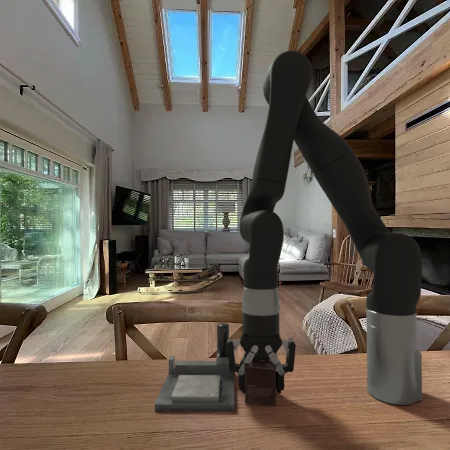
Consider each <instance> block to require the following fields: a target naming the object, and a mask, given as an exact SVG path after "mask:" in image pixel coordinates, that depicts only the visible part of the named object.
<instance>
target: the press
mask: <svg viewBox="0 0 450 450" xmlns="http://www.w3.org/2000/svg"><path fill="white" fill-rule="evenodd" d="M235 380H236V372H231V371H230V370H229V365H216V360H177V361H176V356H175V355H170V356H169V358H168V374H167V376H166V378H165V380H164V382H163V385H162V387H161V390H160V392H159V394H158V397H157V398H156V400H155V402H154V412H227V413H228V412H233V413H234V412H235Z"/></svg>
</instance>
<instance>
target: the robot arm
mask: <svg viewBox="0 0 450 450" xmlns="http://www.w3.org/2000/svg"><path fill="white" fill-rule="evenodd" d="M313 72H314V71H313V67H312V64H311V61H310V60H309V58H308V57H307V56H306V55H305V54H304V53H302V52H300V51H297V50H287V51H283V52H281V53H280V54H278V55H277V56H276V57H275V58H274V60H272V62H271V64H270V66H269V67H268V70H267V72H266V75H265V79H264V81H263V86H262V92H263V97H264V99H265V101H266V103H267V104H268V105H267V106H268V110H267V117H266V122H265V125H264V129H263V131H262V132H263V133H262V136H261V140H260V143H259V147H258V149H257V150H258V151H257V154H256V156H255V157H256V158H255V163H254V166H253V172H252V178H251V185H250V189H249V193H248V194H247V198H246V199H245V203H244V206H243V209H242V212H241V214H240V218H239V225H238V226H239V227H238V228H239V233H240V237H241V238H242V239H243V241H245V242H246V243H247V244H250V245H249V253H248V254H249V255H248V258H247V259H246V260H245V261H244V262H243V268H242V269H243V274H242V275H243V276H242V279H243V283H242V284H243V287H242V288H243V289H242V296H241V298H242V299H241V300H242V301H241V310H242V311H241V315H242V316H241V317H242V318H241V327H242V328H241V331H242V332H241V335H240V336H241V337H239V338H235V339H233V338H232V337H229V339H228V340H227V349H228V360H229V370H230V371H231V372H235V373H237V374H238V376H237V377H238V389H239V391H241V394H245V365H250V363H251V361H252V360H253V361H259V360H264V361H269V360H270V359H271V361H272V363H273V364H274V365H275V366H276V390H277V393H276V394H282V391H284V390H285V375H286V373H294V369H295V360H296V359H295V358H296V348H297V345H296V341H295V340H294V339H293V338H291V337H289V338H288V339H283V338H281V336H280V332H281V331H280V309H281V305H280V293H279V269H278V267H279V266H278V265H279V262H280V258H281V254H282V248H283V243H284V237H285V236H284V234H285V233H284V231H285V230H284V224H283V222H282V219H281V217H280V215H279V214H277V213H276V212H274V211H275V208H276V205H277V203H278V202H279V201H281V200H282V198H283V197H284V195H285V191H286V186H287V179H288V174H289V168H290V163H291V158H292V157H291V156H292V151H293V145H294V143H295V144H296V147H297V148H298V150H299V152H300V154H301V155H302V157H303V159H304V160H305V162H306V164H307V165H308V168H309V169H310V171H311V173H312V174H313V177H314V178H315V179H316V181H317V183H318V185H319V187H320V188H321V190H322V191H323V192H324V194H325V196H326V198H327V199H328V201H329V202H330V203H331V206H332V208H334V210H335V212H336V213H337V215H338V216H339V218H340V219H341V221H342V222H343V224H344V227H345V228H346V229H347V232H348V234H349V235H350V237H351V239H352V242H353V244H354V246H355V250H356V251H357V253H358V255H359V257H360V259H361V261H362V263H363V264H364V266H365V267H366V268H367V269H368V270H369V271H371V272H372V273H373V286H372V291H371V292H370V293H368V294H367V295H366V298H365V299H366V300H365V302H366V303H365V304H366V305H365V307H366V314H365V315H366V388H367V389H366V390H367V391H368V393H369V394H370V395H371V396H372V397H374V398H376V399H378V400H379V401H382V402H384V403H387V404H391V405H399V406H408V405H412V404H415V403H416V402H422V401H423V359H422V358H423V354H422V352H421V351H420V350H418V343H417V342H418V340H417V339H418V337H417V336H418V333H417V332H418V331H417V328H418V327H417V323H418V321H417V306H418V303H419V302H420V298H421V294H422V276H423V275H422V274H423V272H422V271H423V259H422V253H421V249H420V246H419V244H418V243H417V241H416V240H415V239H414V237H412V236H410V235H408V234H406V233H403V232H402V233H401V232H391V231H390V230H389V228H388V227H387V226H386V224H385V222H384V221H383V219H382V218H381V217H380V215H379V214H378V212H377V210H376V208H375V205H374V204H373V203H374V202H373V200H372V194H371V190H370V185H369V180H368V177H367V174H366V171H365V169H364V167H363V165H362V163H361V162H360V160H359V158H358V157H357V155H356V153H355V151H354V149H352V146H351V145H350V144H349V143H348V142H347V140H346V139H344V137H342V136H341V135H340V134H338V132H336V131H335V130H333V129H332V128H330V127H329V126H328V125H327V124H326V123H325V122H323V121H322V120H321V118H320V117H319V116H318V115H317V113H316V111H315V110H314V108H313V106H312V105H311V102H310V101H309V98H308V97H307V94H308V91H309V89H310V87H311V84H312V81H313ZM239 346H241V348H242V349H243V351H244V354H243V355H242V358H241V360H240V361H239V363H237V362H236V356H235V352H236V351H237V350H238V348H239ZM282 346H283V349H284V351H285V352H286V353H285V354H286V355H285V356H286V357H285V363H283V364H282V362H281V361H280V359H279V357H278V354H277V353H278V351H279V350H280V348H281V347H282Z"/></svg>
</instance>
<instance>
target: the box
mask: <svg viewBox="0 0 450 450" xmlns="http://www.w3.org/2000/svg"><path fill="white" fill-rule="evenodd" d="M276 371H277V369H276V366H275V365H274V364H273V363H272V361H271V359H270V360H269V361H264V360H259V361H253V360H252V361H251V363H250V365H245V393H244V403H245V404H248V405H256V406H257V405H259V406H268V407H276V405H277V394H278V393H277V390H276Z"/></svg>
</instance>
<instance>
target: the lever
mask: <svg viewBox="0 0 450 450" xmlns="http://www.w3.org/2000/svg"><path fill="white" fill-rule="evenodd" d="M229 338H230V324H229V323H225V322H220V323H217V325H216V357H215V359H216V360H215V361H216V365H229V360H228V349H227V340H228V339H229Z"/></svg>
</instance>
